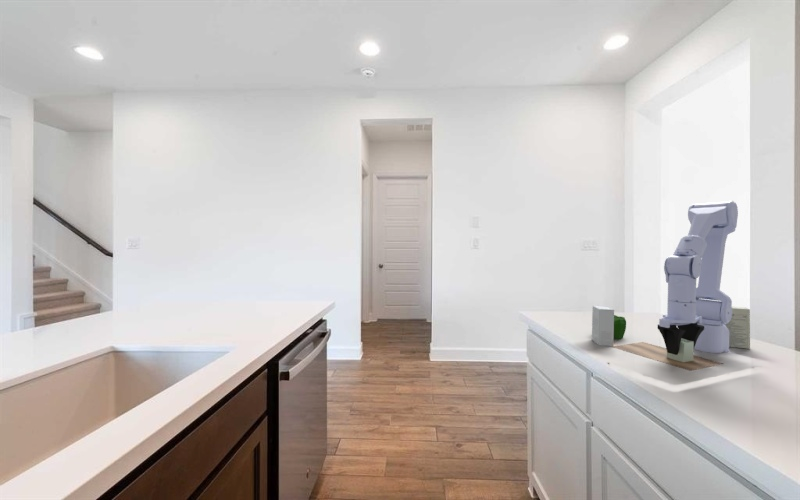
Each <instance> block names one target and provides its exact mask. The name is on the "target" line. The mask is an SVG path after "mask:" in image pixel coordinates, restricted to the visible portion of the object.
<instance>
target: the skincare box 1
mask: <svg viewBox="0 0 800 500" xmlns="http://www.w3.org/2000/svg"><path fill="white" fill-rule="evenodd" d="M614 315H615V309H612V308H611V307H608V306H600V305H592V315H591V316H592V317H591V318H592V319H591V321H592V322H591V341H593V342H594V343H595V344H597V345H598V346H609V347H610V346H611V347H612V346H614V340H615V339H614Z"/></svg>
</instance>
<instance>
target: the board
mask: <svg viewBox="0 0 800 500" xmlns="http://www.w3.org/2000/svg"><path fill="white" fill-rule="evenodd" d="M611 348H614V349H618V350H621V351H624V352H626V353H631V354H633V355H638V356H640V357H644V358H647V359H650V360H654V361H657V362H661V363H664V364H667V365H669V366H670V365H671V366H673V367H675V368H676V367H678V368H680V369H683V370H687V371H695V370H699V369H704V368H710V367H715V366H718V365H724V363H723V362H719V361H715V360H712V359H708V358H704V357H701V356H697V355H694V354H693V361H688V362H681V361H677V360H674V359H670V358H667V349H666V347H663V346H659V345H655V344H653V343H648V342H645V341H640V342H634V343H626V344H619V345H613V346H611Z"/></svg>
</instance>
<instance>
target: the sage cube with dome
mask: <svg viewBox="0 0 800 500" xmlns="http://www.w3.org/2000/svg"><path fill="white" fill-rule="evenodd" d="M693 349H694V341H689V340H686V339H683V338H681V342H680V348H679V352H678V355H674V354H671V353H668V352H667V358H670V359H674V360H677V361H681V362H688V361H693V355H694V350H695V349H694V350H693Z"/></svg>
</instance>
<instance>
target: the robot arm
mask: <svg viewBox="0 0 800 500" xmlns="http://www.w3.org/2000/svg"><path fill="white" fill-rule="evenodd" d="M738 217H739V209H738V205H737V203H736V202H735V201H734V200H728V201H720V202H719V201H717V202H705V203H704V202H703V203H692V204H691V205H690V206H689V207H688V210H687V218H688V219H687V220H688V221H689V223H690V228H689V230H688V232H687V233H688V234H687V235H685V236H683V237H682V238H680V240H679V242H678V244H677V246H676V249H675V250H674V252H673V254H672V255H670V256H667V257H666V258H665V260H664V263H663V264H664V265H663V272H664V274H665V281H666V283H667V308H666V309H667V310H666V311H667V312H666V314H662V317H661V318H659V322H658V323H659V324H657V330H658V332H659V333H660V335H661V336H662V339H663V341H664V345H665V348H666V349H667V352H668V353H671V354H674V355H678V352H679V348H680V342H681V338H683V339H686V340H689V341H694V349H693V351H694V350H695V351H696V350H697V351H700V352H704V353H712V354H715V353H716V354H720V353H721V354H722V353H723V352H726V353H729V354H730V353H731V354H733V351H732V352H731V351H730V347H729V330H728V328H727V327H726V326H725V325H724V324H727V323H729V322H730V320H731V318H732V307H733V303H732V302H733V301H732V298H731V297H730V296H729V295H728V294H727V293H725V292H724V291H722V290H721V289H720V288H721V283H722V274H723V267H724V266H723V265H724V257H725V250H726V249H725V248H726V241H727V239H728V235H730V234H733V233H734V232H735V231H736V228H737V226H738ZM697 278H698V283H697Z"/></svg>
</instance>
